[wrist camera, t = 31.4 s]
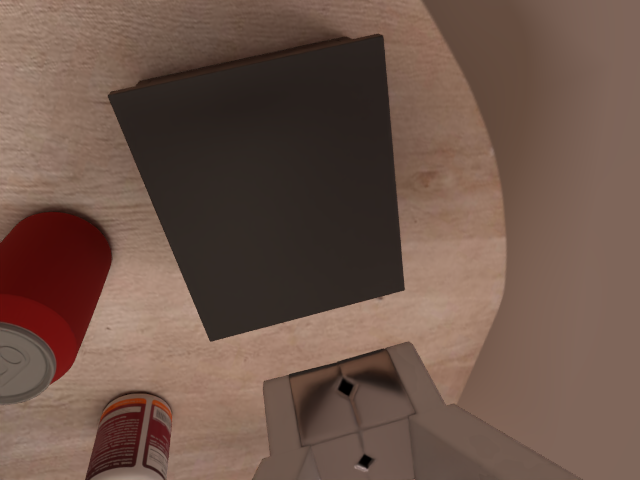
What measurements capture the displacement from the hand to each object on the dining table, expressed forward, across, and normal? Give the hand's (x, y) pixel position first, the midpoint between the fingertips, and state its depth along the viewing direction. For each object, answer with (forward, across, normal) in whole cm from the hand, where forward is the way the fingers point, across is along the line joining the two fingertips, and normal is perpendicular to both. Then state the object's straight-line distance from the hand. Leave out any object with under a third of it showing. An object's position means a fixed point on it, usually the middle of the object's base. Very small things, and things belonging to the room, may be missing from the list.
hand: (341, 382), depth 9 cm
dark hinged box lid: (+18, 0, +5) cm, 19 cm away
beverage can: (+25, +16, +7) cm, 31 cm away
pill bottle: (+25, +17, +25) cm, 40 cm away
